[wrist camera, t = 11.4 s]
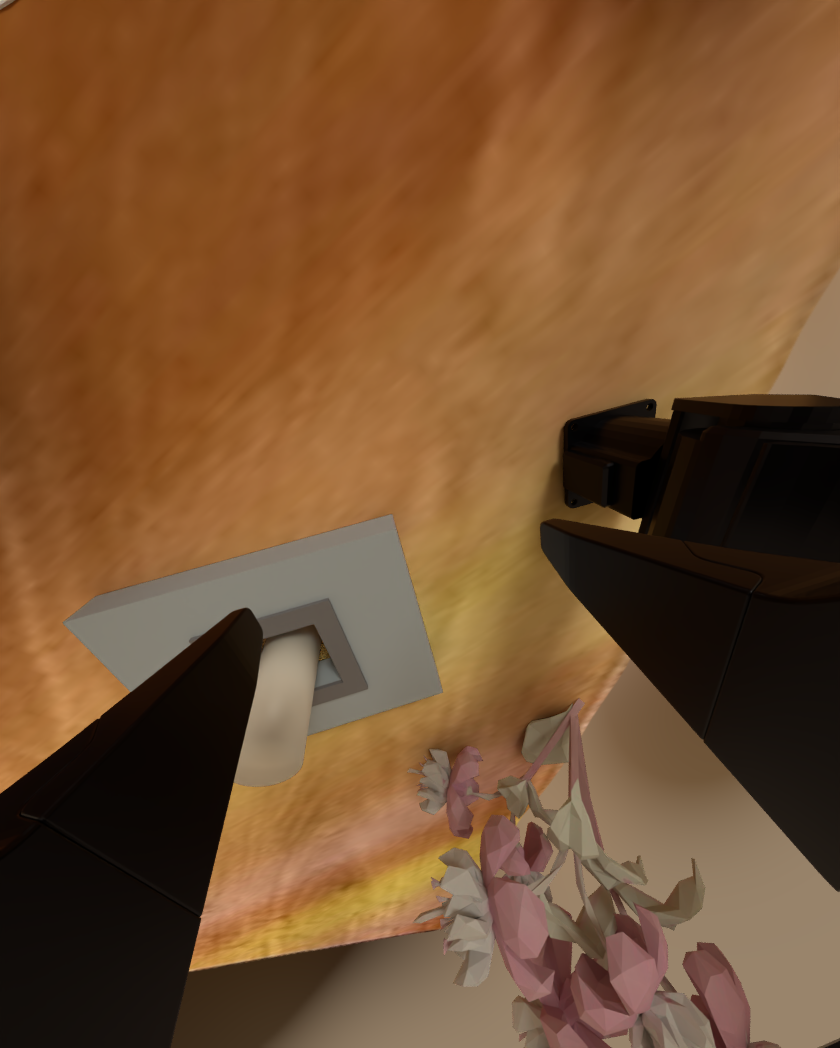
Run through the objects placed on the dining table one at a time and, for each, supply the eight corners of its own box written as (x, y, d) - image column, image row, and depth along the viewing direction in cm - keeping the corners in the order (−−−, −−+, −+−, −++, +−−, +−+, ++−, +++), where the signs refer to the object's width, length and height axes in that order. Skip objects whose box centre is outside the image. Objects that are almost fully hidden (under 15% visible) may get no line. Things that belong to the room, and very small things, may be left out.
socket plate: (392, 513, 21) (396, 531, 19) (436, 668, 28) (443, 695, 26) (95, 596, 20) (57, 626, 17) (218, 736, 27) (204, 772, 24)
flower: (509, 621, 25) (581, 1558, 7) (685, 701, 31) (965, 1342, 13) (400, 681, 38) (331, 1073, 21) (538, 730, 44) (578, 1070, 26)
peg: (311, 610, 23) (285, 729, 15) (329, 647, 25) (314, 771, 17) (259, 626, 23) (204, 755, 15) (281, 662, 25) (242, 795, 17)
